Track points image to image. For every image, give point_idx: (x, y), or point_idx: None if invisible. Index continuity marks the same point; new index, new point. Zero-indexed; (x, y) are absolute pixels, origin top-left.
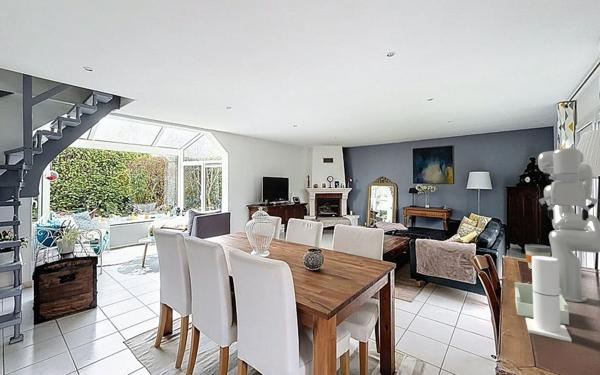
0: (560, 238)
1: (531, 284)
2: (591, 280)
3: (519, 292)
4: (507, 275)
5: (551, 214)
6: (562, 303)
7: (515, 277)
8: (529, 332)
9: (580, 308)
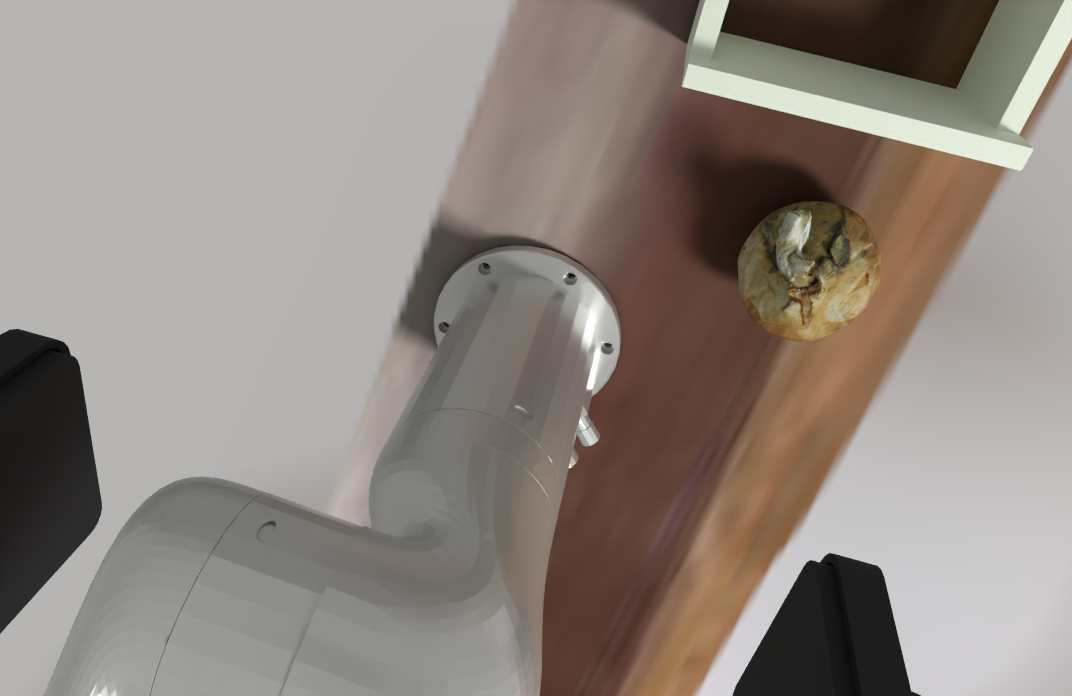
0: (461, 645)
1: (808, 261)
2: None
3: (973, 112)
4: (722, 640)
5: None
6: None
7: (687, 612)
8: None
9: (538, 134)
